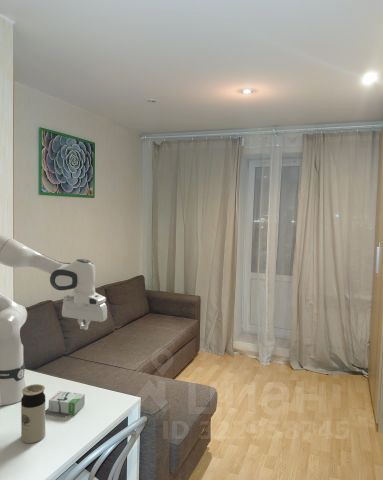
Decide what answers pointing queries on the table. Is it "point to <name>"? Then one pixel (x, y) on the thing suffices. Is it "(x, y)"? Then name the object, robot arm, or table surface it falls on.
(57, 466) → the table surface
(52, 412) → the mat
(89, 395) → the table surface
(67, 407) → the ink box
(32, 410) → the travel mug
